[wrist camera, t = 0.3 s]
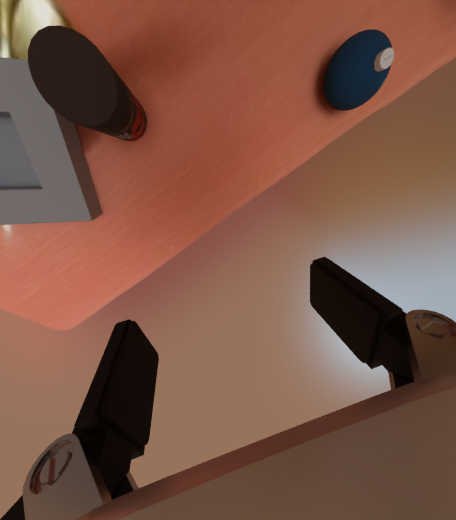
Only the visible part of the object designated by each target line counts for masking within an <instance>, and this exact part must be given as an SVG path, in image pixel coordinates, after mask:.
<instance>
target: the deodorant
mask: <svg viewBox="0 0 456 520" xmlns="http://www.w3.org/2000/svg"><path fill="white" fill-rule="evenodd" d="M28 65H29V69H30V73H31V77H32V79H33V81H34V83H35V85H36V87H37V90H38V91H39V93H40V94H41V95H42V97H43V98H44V100H45V101H46V102H47V103H48V104H49V105H50V106H51V107H52V108H53V109H54V110H55V111H56V112H57V113H58V114H60V115H61V116H62V117H64V118H65V119H67V120H69V121H71V122H73V123H76V124H78V125H81V126H84V127H87V128H90V129H93V130H96V131H99V132H102V133H105V134H108V135H111V136H114V137H117V138H120V139H123V140H127V141H135V140H137V139H139V138H141V137H142V136H143V134H144V132H145V131H146V126H147V119H146V115H145V112H144V110H143V108H142V106H141V104H140V103H139V102H138V100H137V99H136V98H135V97H134V95H133V94H132V93H131V91H130V90H129V89H128V87H127V86H126V85H125V83H124V82H123V81H122V79H121V78H120V77H119V76H118V74H117V73H116V72H115V70H114V69H113V68H112V66H111V65H110V64H109V62H108V61H107V60H106V59H105V57H104V56H103V55H102V53H101V52H100V51H99V50H98V48H97V47H96V46H95V45H94V44H93V43H92V42H91V41H89V40H88V39H87V38H86V37H85V36H83V35H81V34H80V33H78V32H76V31H75V30H73V29H70V28H66V27H63V26H47V27H45V28H43V29H41V30H39V31H38V32H37V33H36V34H35V35H34V37H33V38H32V39H31V42H30V45H29V49H28Z"/></svg>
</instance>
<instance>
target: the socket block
mask: <svg viewBox="0 0 456 520" xmlns="http://www.w3.org/2000/svg"><path fill="white" fill-rule="evenodd" d="M101 214H102V210H101V207H100V204H99V201H98V198H97V194H96V191H95V188H94V185H93V181H92V178H91V175H90V172H89V168H88V165H87V162H86V159H85V156H84V152H83V149H82V146H81V143H80V139H79V136H78V133H77V130H76V127H75V123H73V122H71V121H69V120H67V119H65V118H64V117H62V116H61V115H60V114H58V113H57V112H56V111H55V110H54V109H53V108H52V107H51V106H50V105H49V104H48V103H47V102H46V101H45V100H44V98H43V97H42V95H41V94H40V93H39V91H38V90H37V87H36V85H35V83H34V81H33V79H32V77H31V73H30V69H29V65H28V60H21V59H10V58H0V225H6V224H28V223H50V222H72V221H92V220H93V219H95V218H96V217H98V216H99V215H101Z"/></svg>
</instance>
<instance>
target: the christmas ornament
mask: <svg viewBox="0 0 456 520" xmlns="http://www.w3.org/2000/svg"><path fill="white" fill-rule="evenodd" d="M393 59H394V50H393V49H392V46H391V43H390V40H389V38H388V37H387V36H386V35H385V34H384V33H383V32H381V31H378V30H365V31H361V32H359V33H357V34H355V35H353V36H352V37H350V38H349V39H348V40H346V41H345V42H344V43H343V44H342V45H341V46H340V47H339V48H338V50H337V51H336V52H335V54H334V55H333V57H332V58H331V60H330V62H329V64H328V66H327V69H326V72H325V76H324V82H323V91H324V96H325V98H326V100H327V102H328V104H329V105H330V106H332V107H333V108H335V109H337V110H351V109H354V108H357V107H359V106H361V105H362V104H364V103H365V102H367V101H368V100H369V99H370V98H372V97H373V96H374V95H375V93H376V92H377V91H378V90H379V89H380V87H381V86H382V84H383V83H384V81H385V79H386V77H387V75H388V73H389V70H390V67H391V63H392V61H393Z"/></svg>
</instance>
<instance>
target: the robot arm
mask: <svg viewBox="0 0 456 520" xmlns="http://www.w3.org/2000/svg"><path fill="white" fill-rule="evenodd" d="M310 303H311V305H312V307H313V308H314V309H315V310H316V311H317V313H318V314H319V315H320V316H321V317H322V318H323V319H324V320H325V321H326V323H327V324H328V325H329V326H330V327H331V328H332V329H333V331H334V332H335V333H336V334H337V335H338V336H339V337H340V338H341V340H342V341H343V342H344V343H345V344H346V345H347V346H348V348H349V349H350V350H351V351H352V352H353V353H354V354H355V355H356V357H357V358H358V359H359V360H360V361H361V362H363V363H366V364H367V365H368V366H369V367H370V368H371V369H373V368H375V367H378V366H381V365H383V366H384V367H385V368H386V369H387V371H388V373H389V379H390V385H391V390H390V391H387V392H385V393H382V394H379V395H376V396H374V397H371V398H368V399H366V400H363V401H360V402H358V403H355V404H353V405H350V406H347V407H345V408H342V409H340V410H337V411H334V412H332V413H329V414H327V415H324V416H321V417H319V418H316V419H313V420H311V421H308V422H306V423H303V424H301V425H298V426H296V427H293V428H290V429H288V430H285V431H283V432H280V433H278V434H275V435H272V436H270V437H267V438H265V439H262V440H260V441H257V442H255V443H252V444H249V445H247V446H244V447H242V448H239V449H237V450H234V451H231V452H229V453H226V454H224V455H221V456H219V457H216V458H214V459H211V460H209V461H206V462H204V463H201V464H199V465H196V466H194V467H191V468H189V469H186V470H183V471H181V472H178V473H176V474H174V475H171V476H168V477H166V478H163V479H161V480H159V481H156V482H154V483H151V484H149V485H147V486H144V487H142V488H138V486H137V484H136V483H135V481H134V479H133V477H132V475H131V473H130V471H129V469H130V463H131V460H132V459H134V458H137V457H139V456H142V455H144V448H145V445H146V444H147V443H148V440H149V435H150V427H151V419H152V410H153V402H154V393H155V385H156V377H157V369H158V359H159V358H158V353H157V352H156V350H155V349H154V347H153V346H152V345H151V343H150V342H149V340H148V339H147V338H146V336H145V334H144V333H143V332H142V330H141V329H140V327H139V326H138V324H137V323H136V322H135V321H131V320H126V321H122V322H119V323H117V324H116V325H115V327H114V330H113V332H112V334H111V337H110V339H109V342H108V344H107V347H106V349H105V351H104V354H103V356H102V359H101V361H100V364H99V366H98V369H97V371H96V374H95V376H94V379H93V381H92V383H91V386H90V388H89V391H88V394H87V396H86V398H85V401H84V403H83V405H82V408H81V410H80V413H79V415H78V418H77V420H76V423H75V425H74V426H75V428H74V430H73V432H72V434H66V435H63V436H61V437H60V438H58V439H56V440H55V441H54V442H53V443H51V444H50V445H49V446H48V447H47V448H46V449H45V450H44V452H43V453H42V454H41V455H40V456H39V457H38V459H37V460H36V462H35V463H34V464H33V466H32V468H31V469H30V471H29V473H28V475H27V477H26V480H25V483H24V486H23V495H22V496H21V497H20V498H19V500H18V501H17V502H16V503H15V504H14V505H13V506H12V507H11V508H10V509H9V511H8V512H7V513H6V514H5V515H4V516H3V517H2V518H1V519H0V520H456V322H454V321H453V320H452V319H450V318H448V317H446V316H444V315H442V314H439V313H437V312H433V311H429V310H412V311H410V312H408V313H407V314H406V313H405V312H403V311H402V309H401V308H400V307H398V306H397V305H396V304H394V303H393V302H391V301H390V300H388V299H387V298H385V297H384V296H382V295H381V294H379V293H378V292H376V291H375V290H373V289H372V288H370V287H369V286H368V285H366V284H365V283H363V282H362V281H360V280H359V279H357V278H356V277H354V276H353V275H351V274H350V273H348V272H347V271H345V270H344V269H342V268H341V267H340V266H338V265H337V264H335V263H334V262H332V261H331V260H329V259H327V258H326V257H323V258H319V259H316V260H314V261H313V263H312V264H311V265H310Z"/></svg>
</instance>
